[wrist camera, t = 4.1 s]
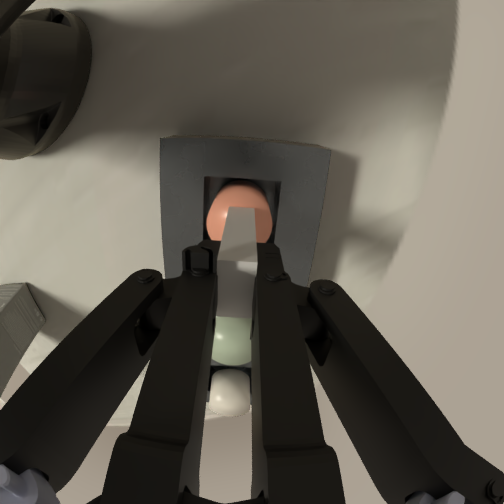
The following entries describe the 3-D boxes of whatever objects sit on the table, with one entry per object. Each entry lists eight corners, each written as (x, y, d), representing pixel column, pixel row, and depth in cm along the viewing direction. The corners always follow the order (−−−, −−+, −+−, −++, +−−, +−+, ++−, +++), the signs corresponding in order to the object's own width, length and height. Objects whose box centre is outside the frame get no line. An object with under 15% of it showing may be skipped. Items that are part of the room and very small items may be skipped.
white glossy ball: (212, 388, 27) (209, 415, 24) (211, 367, 26) (208, 396, 22) (248, 390, 28) (248, 417, 24) (251, 369, 26) (251, 398, 22)
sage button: (210, 332, 23) (205, 363, 20) (209, 296, 21) (204, 327, 18) (255, 335, 23) (256, 366, 20) (260, 300, 22) (261, 331, 18)
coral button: (212, 230, 21) (206, 252, 17) (214, 178, 19) (207, 191, 16) (265, 233, 21) (268, 256, 18) (270, 182, 19) (275, 195, 16)
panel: (187, 377, 32) (184, 399, 28) (174, 135, 19) (160, 138, 16) (274, 382, 32) (275, 404, 29) (318, 145, 19) (331, 150, 16)
